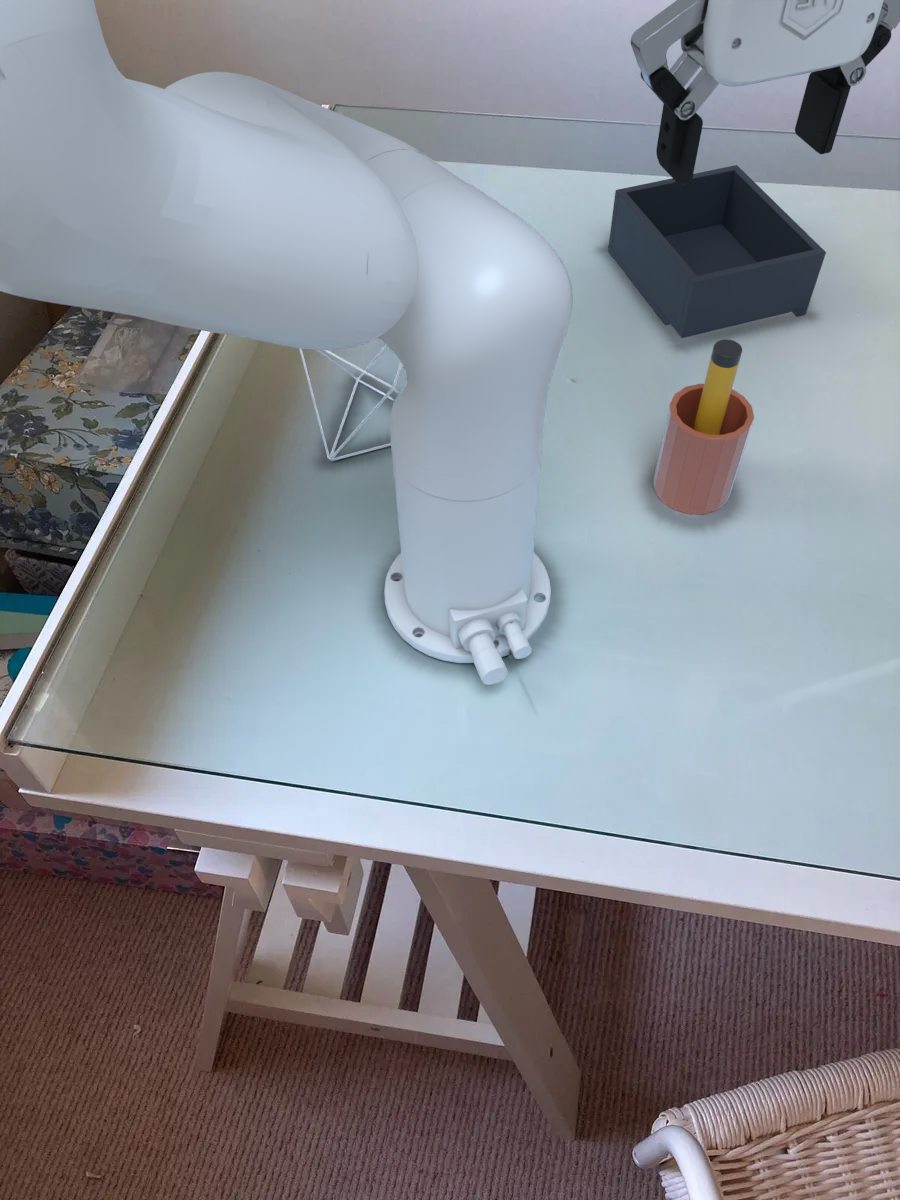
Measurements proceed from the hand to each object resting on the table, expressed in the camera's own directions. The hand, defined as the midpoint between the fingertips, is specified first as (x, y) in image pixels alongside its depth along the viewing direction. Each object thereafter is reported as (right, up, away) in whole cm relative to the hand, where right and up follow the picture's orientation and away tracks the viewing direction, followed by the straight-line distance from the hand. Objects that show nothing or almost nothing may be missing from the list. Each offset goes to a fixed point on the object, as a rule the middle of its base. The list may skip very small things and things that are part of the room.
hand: (743, 158), depth 60 cm
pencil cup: (+2, -19, +20) cm, 27 cm away
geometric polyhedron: (-25, -12, +26) cm, 38 cm away
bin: (+7, +5, +38) cm, 39 cm away
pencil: (+2, -18, +19) cm, 26 cm away
